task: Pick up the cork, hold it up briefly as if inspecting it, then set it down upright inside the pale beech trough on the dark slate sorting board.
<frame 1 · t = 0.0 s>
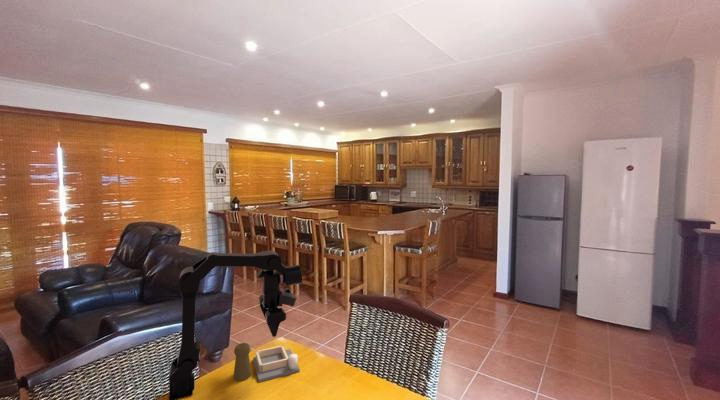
hand: (271, 330, 113), 15 cm above the table, fingers open, 9 cm apart
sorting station: (275, 365, 117), on the table
cork: (242, 376, 111), on the table
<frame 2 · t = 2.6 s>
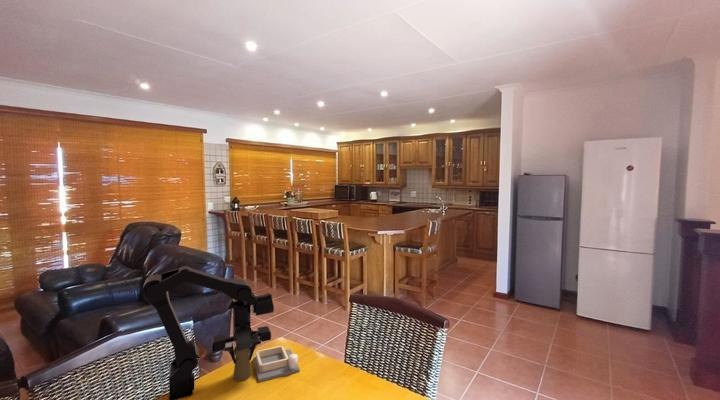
hand: (242, 361, 111), 5 cm above the table, fingers closed on cork, 5 cm apart
cork: (242, 376, 111), on the table, touching gripper
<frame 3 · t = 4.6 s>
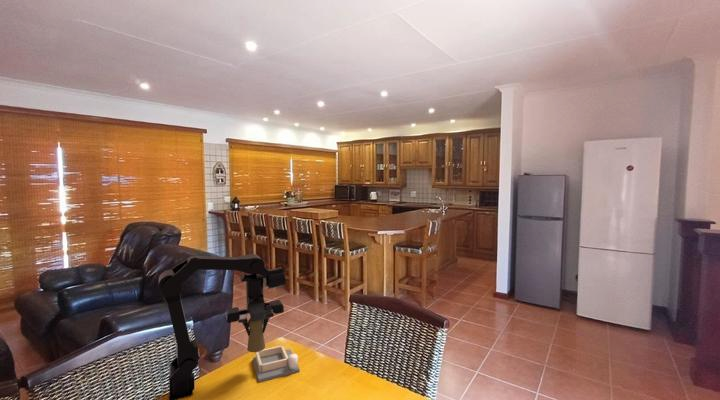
hand: (256, 333, 113), 13 cm above the table, fingers closed on cork, 5 cm apart
cork: (256, 348, 113), point 8 cm above the table, touching gripper
when the fingers open (7 cm above the table, at t = 6.7 s): cork drops 1 cm, resting on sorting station.
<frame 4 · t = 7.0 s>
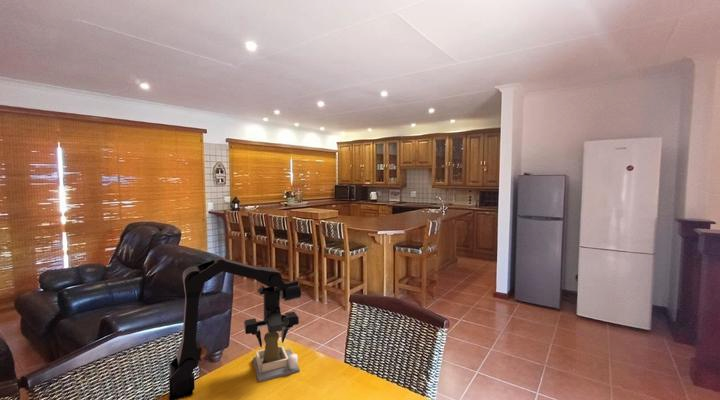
hand: (271, 344, 117), 7 cm above the table, fingers open, 7 cm apart
cork: (271, 362, 118), point 1 cm above the table, touching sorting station
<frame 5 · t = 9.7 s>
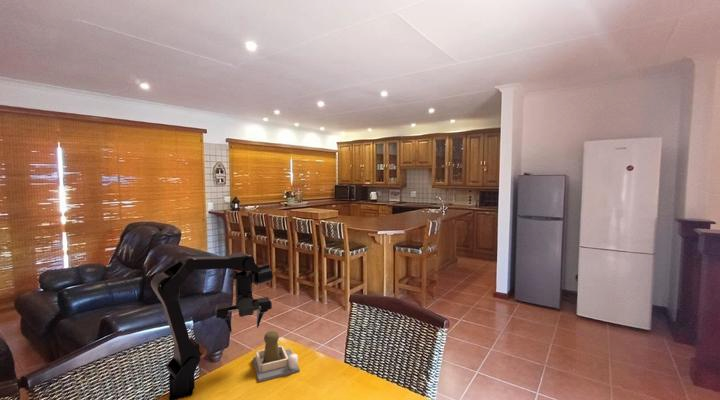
hand: (244, 329, 117), 13 cm above the table, fingers open, 9 cm apart
nothing on the table moved.
at the end: cork 0.1 cm from the target spot on the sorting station, point 0.8 cm above the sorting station's base; cork tilted 0°; the gripper is holding nothing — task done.
